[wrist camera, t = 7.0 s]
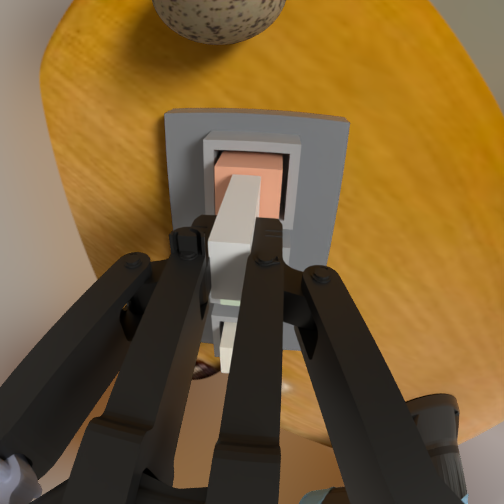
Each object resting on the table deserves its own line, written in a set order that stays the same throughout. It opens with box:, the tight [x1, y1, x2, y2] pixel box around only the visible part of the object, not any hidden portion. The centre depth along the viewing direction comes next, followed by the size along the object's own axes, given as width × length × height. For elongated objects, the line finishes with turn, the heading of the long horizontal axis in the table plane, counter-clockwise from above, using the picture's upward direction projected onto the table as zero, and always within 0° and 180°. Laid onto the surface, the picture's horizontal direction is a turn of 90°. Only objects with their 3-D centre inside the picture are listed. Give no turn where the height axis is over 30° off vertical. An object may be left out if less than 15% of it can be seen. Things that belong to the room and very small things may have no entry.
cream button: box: [220, 322, 237, 373], centre depth 26 cm, size 4×4×3 cm
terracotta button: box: [215, 151, 283, 219], centre depth 19 cm, size 4×4×3 cm
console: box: [164, 108, 350, 357], centre depth 25 cm, size 22×12×4 cm, turn 178°
